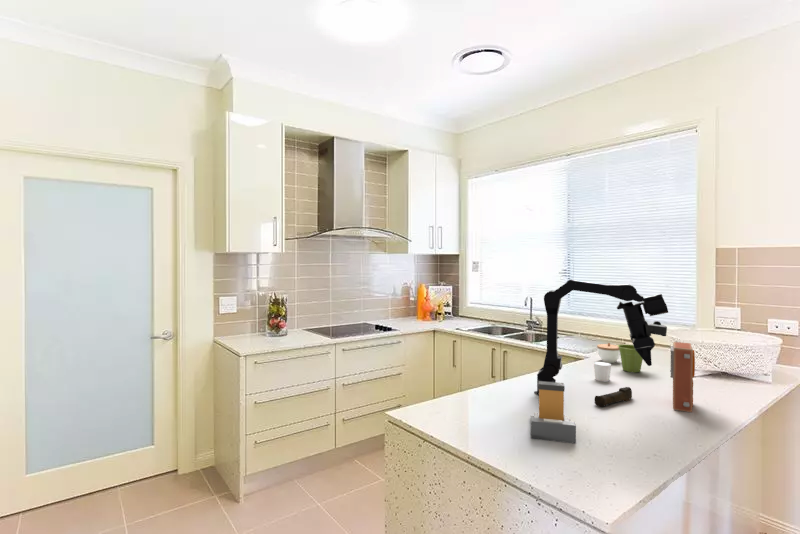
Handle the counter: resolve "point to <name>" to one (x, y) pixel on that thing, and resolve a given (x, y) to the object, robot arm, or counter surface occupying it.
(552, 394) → the handle
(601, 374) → the white cup
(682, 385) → the brown case
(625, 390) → the hand tool
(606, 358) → the lidded jar
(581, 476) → the counter surface
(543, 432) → the base
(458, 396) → the counter surface
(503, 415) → the counter surface
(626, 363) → the plant pot
